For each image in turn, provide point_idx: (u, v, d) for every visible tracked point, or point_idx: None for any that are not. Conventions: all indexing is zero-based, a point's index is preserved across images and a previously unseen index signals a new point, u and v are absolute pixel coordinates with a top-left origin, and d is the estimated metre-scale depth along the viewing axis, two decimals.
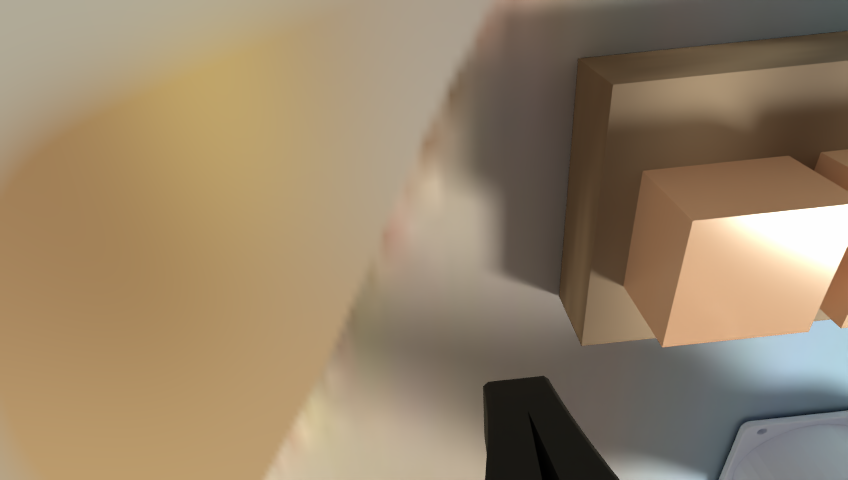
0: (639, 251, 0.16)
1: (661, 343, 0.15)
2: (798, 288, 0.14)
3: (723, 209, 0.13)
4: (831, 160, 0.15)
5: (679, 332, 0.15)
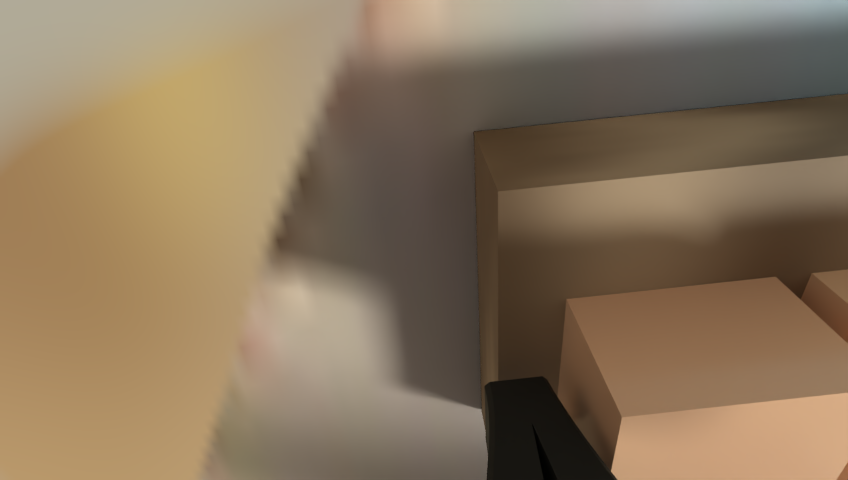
0: (567, 402, 0.12)
1: None
2: None
3: (671, 392, 0.09)
4: (826, 288, 0.10)
5: None
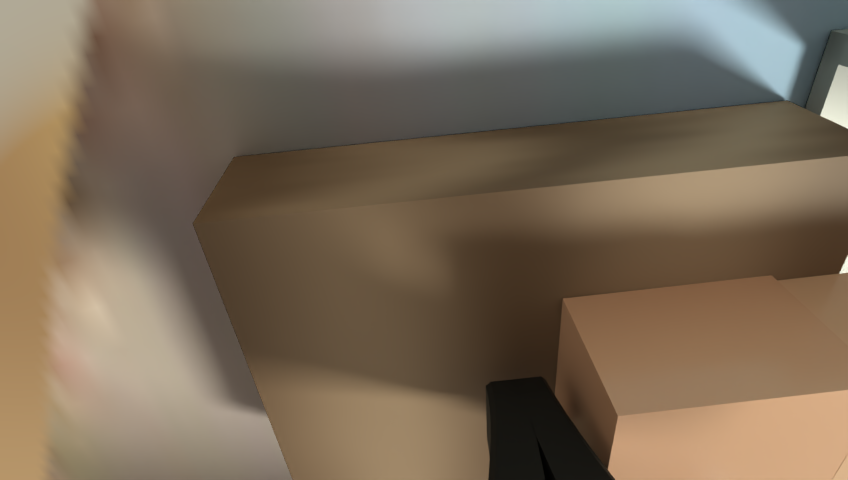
0: (564, 402, 0.12)
1: None
2: None
3: (668, 391, 0.09)
4: None
5: None
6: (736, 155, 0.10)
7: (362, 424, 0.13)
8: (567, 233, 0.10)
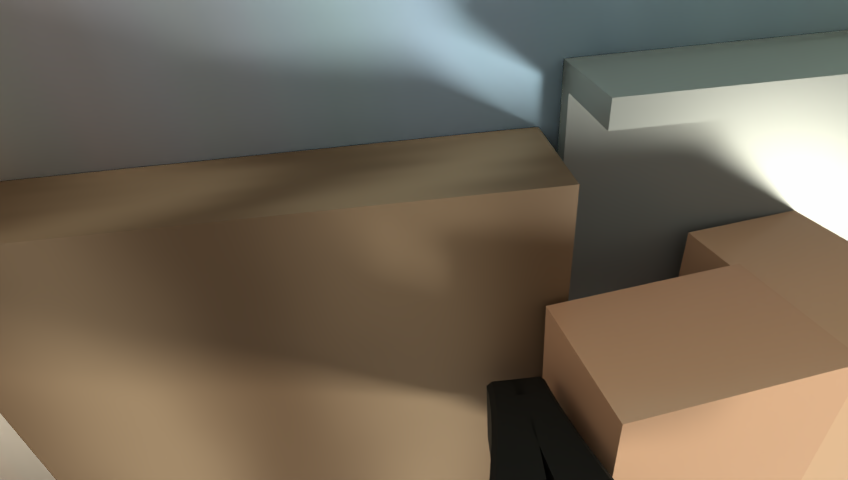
0: None
1: None
2: (774, 467, 0.10)
3: (665, 392, 0.08)
4: None
5: None
6: (431, 188, 0.10)
7: (127, 449, 0.13)
8: (267, 265, 0.10)
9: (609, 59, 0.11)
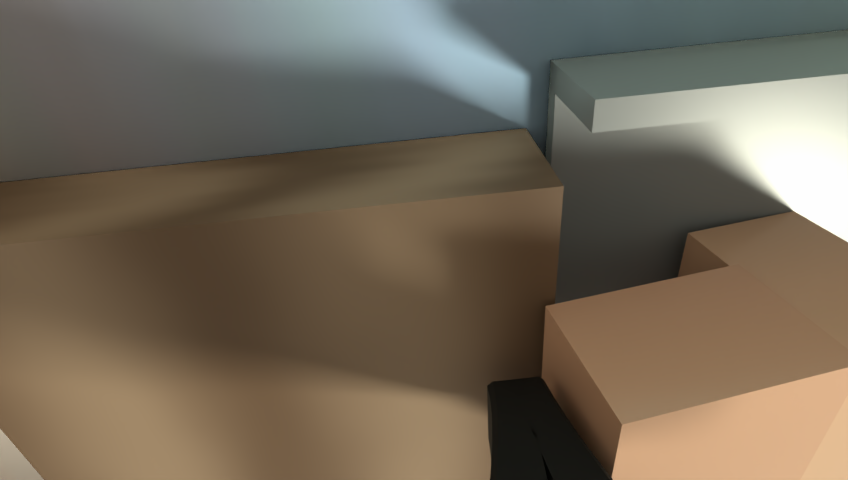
0: None
1: None
2: (774, 467, 0.10)
3: (665, 393, 0.08)
4: None
5: None
6: (416, 190, 0.10)
7: (116, 450, 0.13)
8: (253, 267, 0.10)
9: (595, 61, 0.11)
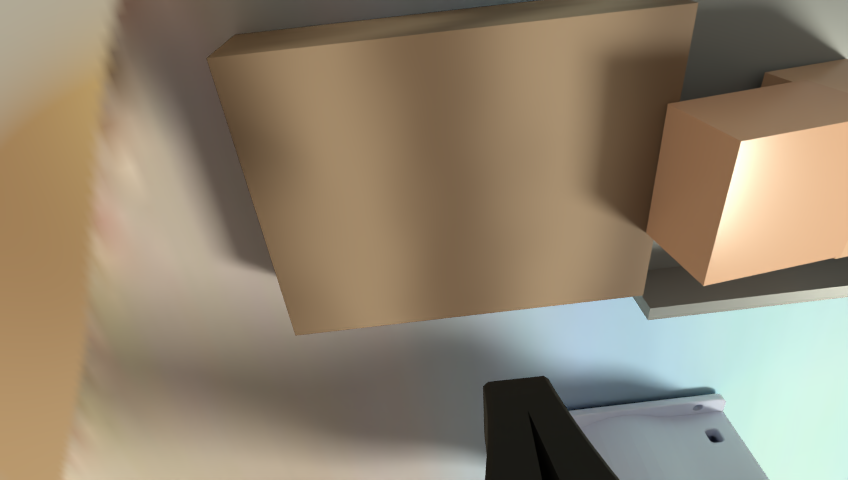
0: (667, 190, 0.16)
1: (702, 282, 0.15)
2: (835, 210, 0.14)
3: (767, 129, 0.13)
4: None
5: (721, 267, 0.14)
6: (590, 11, 0.14)
7: (334, 242, 0.17)
8: (472, 70, 0.14)
9: None
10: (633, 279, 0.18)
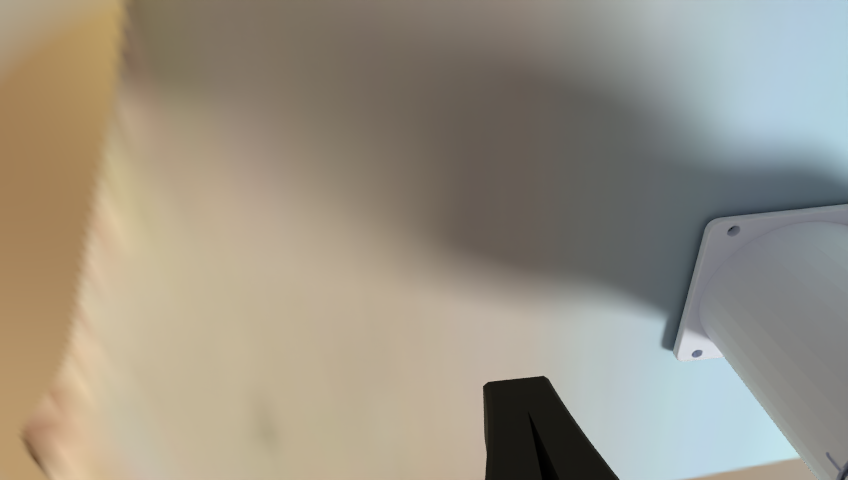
0: None
1: None
2: None
3: None
4: None
5: None
6: None
7: None
8: None
9: None
10: None
